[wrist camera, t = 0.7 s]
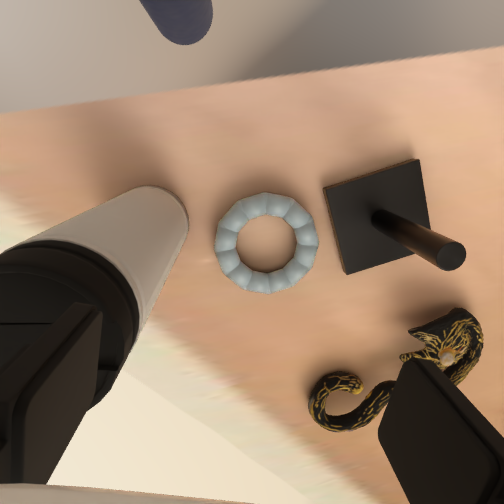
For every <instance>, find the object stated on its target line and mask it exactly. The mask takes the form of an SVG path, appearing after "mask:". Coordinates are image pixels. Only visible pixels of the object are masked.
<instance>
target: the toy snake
mask: <svg viewBox="0 0 504 504" xmlns="http://www.w3.org/2000/svg"><path fill="white" fill-rule="evenodd" d="M408 333H409V334H410V335H412V336H414V337H415V338H417V339H419V340H420V341H422V342H423V343H424V344H425V346H426V347H425V348H424V349H422V350H419V351H415V352H410V353H405V354H401V355H400V356H399V357H400V359H401V361H403V363H404V362H405V361H408V360H409V359H410V358H412V357H416V358H422V359H429V360H432V361H433V362H434V363H435V364H436V365H437V366H438V367H439V368H440V369H441V370H442V369H445V370H444V371H443V373H444V374H445V375H446V376H447V377H448V378H449V379H450V380H451V381H452V382H453V383H454V385H455V386H457V385H458V384H459V383H461V382H462V381H463V380H464V379H465V378H466V376H467V375H468V373H469V371H471V370H472V369H473V367H474V366H475V365H476V363H477V362H478V361H479V357H480V356H481V351H482V348H483V333H482V329H481V327H480V323H479V322H478V321H477V319H476V318H475V317H474V316H473V315H472V314H471V313H469V312H468V311H467V310H465V309H463V308H454V309H452V310H451V311H450V312H449V313H448V314H447V315H445V316H443V317H441V318H438V319H436V320H434V321H432V322H430V323H428V324H426V325H423V326H421V327H417V328H413V329H410V330H408ZM447 366H448V367H447ZM446 367H447V368H446ZM395 383H396V381H393V380H389V381H384V382H381V383H379V384H378V385H377V386H375V387H374V389H373V390H372V391H371V392H370V393H369V394H368V395H367V396H366V398H365V400H364V401H363V402H362V403H361V404H360V405H359V406H358V407H357V408H356V409H354V410H353V411H351V412H349V413H347V414H344V415H339V416H332V415H328V414H326V412H325V401H326V398H327V396H328V395H329V393H331V392H334V391H337V390H342V391H346V392H349V393H352V394H359V393H360V392H361V391H362V390H363V387H364V385H363V383H362V381H361V380H360V379H359V378H358V377H357V376H355V375H352V374H349V373H346V372H336V373H333V374H330V375H327V376H324V377H323V378H322V379H321V380H320V381H319V382H318V383H317V385H316V386H315V388H314V389H313V391H312V393H311V395H310V398H309V403H308V409H309V413H310V414H311V416H312V418H313V419H314V421H315V422H316V423H318V424H319V425H320V426H321V427H323V428H325V429H327V430H329V431H333V432H345V431H353V430H356V429H358V428H360V427H363V426H365V425H367V424H368V423H370V422H371V421H372V420H373V419H374V418H375V417H376V416H377V415H378V414H379V412H380V411H381V410H382V409H383V408H384V406H385V405H386V404H387V403H388V402H389V399H390V396H391V394H392V391H393V389H394V386H395Z"/></svg>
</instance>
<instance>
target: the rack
mask: <svg viewBox="0 0 504 504" xmlns="http://www.w3.org/2000/svg"><path fill="white" fill-rule="evenodd" d="M323 192H324V196H325V200H326V204H327V208H328V212H329V216H330V220H331V224H332V228H333V231H334V235H335V239H336V243H337V247H338V251H339V255H340V259H341V263H342V267H343V271H344V272H345V273H346V275H349V274H352V273H355V272H359V271H362V270H365V269H368V268H371V267H374V266H378V265H381V264H384V263H387V262H390V261H393V260H397V259H400V258H403V257H406V256H409V255H412V254H417V255H419V256H421V257H422V258H424V259H425V260H427V261H429V262H430V263H432V264H434V265H435V266H437V267H439V268H440V269H442V270H445V271H452V270H455V269H457V268H458V267H460V266H461V265H462V264H463V262H464V261H465V258H466V250H465V248H464V246H463V245H462V244H461V243H459V242H456V241H454V240H452V239H450V238H447V237H445V236H443V235H441V234H438V233H436V232H434V231H432V230H431V228H430V222H429V216H428V210H427V203H426V197H425V191H424V185H423V179H422V172H421V166H420V160H419V159H411V160H408V161H405V162H402V163H399V164H396V165H392V166H389V167H386V168H383V169H380V170H377V171H374V172H371V173H368V174H365V175H362V176H359V177H356V178H353V179H350V180H347V181H344V182H341V183H338V184H334V185H331V186H328V187H325V188H323Z"/></svg>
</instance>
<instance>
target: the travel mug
mask: <svg viewBox="0 0 504 504" xmlns="http://www.w3.org/2000/svg"><path fill="white" fill-rule="evenodd" d="M188 229H189V219H188V214H187V211H186V209H185V207H184V205H183V203H182V202H181V201H180V200H179V198H178V197H176V196H175V195H174V194H173V193H172V192H170V191H168V190H166V189H164V188H161V187H158V186H151V185H147V186H140V187H136V188H134V189H132V190H130V191H128V192H125V193H123V194H121V195H119V196H117V197H115V198H113V199H111V200H109V201H107V202H105V203H102V204H100V205H98V206H96V207H94V208H92V209H90V210H88V211H86V212H84V213H81V214H79V215H77V216H75V217H73V218H71V219H69V220H67V221H65V222H63V223H61V224H58V225H56V226H54V227H52V228H50V229H48V230H46V231H44V232H42V233H40V234H37V235H35V236H33V237H31V238H29V239H27V240H25V241H23V242H21V243H19V244H17V245H15V246H13V247H11V248H9V249H7V250H5V251H4V252H3V253H1V254H0V368H1V367H2V366H3V365H4V364H5V363H6V362H7V361H8V360H9V359H10V358H11V357H12V356H13V355H14V354H15V353H16V352H17V351H19V350H20V349H21V348H22V347H23V346H24V345H26V344H28V343H34V342H35V341H36V340H37V339H38V338H39V337H40V336H41V335H42V334H43V333H44V332H45V331H46V330H47V329H48V328H49V327H50V326H51V325H52V324H53V323H54V322H55V321H56V320H57V319H58V318H59V317H60V316H61V315H62V314H63V313H64V312H65V311H66V310H67V309H68V308H69V307H70V306H71V305H72V304H73V303H75V302H77V303H83V304H89V305H95V306H96V307H97V311H101V312H102V314H103V318H102V328H101V338H100V348H99V359H98V369H97V379H96V389H95V394H94V397H93V400H92V402H91V404H90V406H89V408H88V410H89V409H91V408H92V407H93V406H95V405H96V404H97V403H99V402H100V401H101V400H102V399H103V398H104V397H105V395H106V394H107V393H108V392H109V391H110V390H111V388H112V386H113V384H114V382H115V380H116V378H117V376H118V374H119V372H120V370H121V369H122V367H123V365H124V363H125V361H126V359H127V357H128V355H129V353H130V352H131V350H132V349H133V347H134V345H135V343H136V342H137V340H138V338H139V335H140V333H141V331H142V329H143V327H144V325H145V323H146V321H147V319H148V317H149V314H150V312H151V310H152V308H153V306H154V304H155V302H156V300H157V298H158V296H159V294H160V291H161V289H162V287H163V285H164V283H165V281H166V279H167V277H168V275H169V273H170V271H171V268H172V266H173V264H174V262H175V260H176V258H177V256H178V254H179V252H180V250H181V247H182V245H183V243H184V241H185V239H186V237H187V234H188ZM88 410H87V411H88Z"/></svg>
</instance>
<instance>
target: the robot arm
mask: <svg viewBox="0 0 504 504" xmlns="http://www.w3.org/2000/svg"><path fill="white" fill-rule="evenodd" d="M102 318H103V314H102V312H101V311H97V307H96V306H95V305H89V304H83V303H77V302H75V303H73V304H72V305H71V306H70V307H69V308H68V309H67V310H66V311H65V312H64V313H63V314H62V315H61V316H60V317H59V318H58V319H57V320H56V321H55V322H54V323H53V324H52V325H51V326H50V327H49V328H48V329H47V330H46V331H45V332H44V333H43V334H42V335H41V336H40V337H39V338H38V339H37V340H36V341H35V342H34V343H28V344H26V345H24V346H23V347H22V348H21V349H20V350H19V351H17V352H16V353H15V354H14V355H13V356H12V357H11V358H10V359H9V360H8V361H7V362H6V363H5V364H4V365H3V366H2V367H1V368H0V504H253V503H243V502H233V501H223V500H213V499H203V498H193V497H183V496H174V495H164V494H154V493H144V492H134V491H123V490H112V489H100V488H91V487H76V486H59V485H46V483H47V482H48V480H49V478H50V477H51V475H52V473H53V471H54V469H55V467H56V466H57V464H58V462H59V460H60V458H61V457H62V455H63V453H64V451H65V450H66V447H67V446H68V444H69V442H70V440H71V439H72V437H73V435H74V433H75V431H76V430H77V428H78V426H79V424H80V422H81V421H82V419H83V417H84V415H85V413H86V412H87V410H88V408H89V406H90V404H91V402H92V400H93V397H94V394H95V389H96V379H97V369H98V359H99V348H100V338H101V328H102ZM378 439H379V442H380V444H381V446H382V448H383V450H384V452H385V454H386V456H387V458H388V460H389V462H390V464H391V466H392V468H393V470H394V472H395V474H396V476H397V478H398V480H399V482H400V484H401V486H402V488H403V490H404V492H405V494H406V496H407V499H408V501H409V503H410V504H504V438H503V437H502V435H501V434H500V433H499V432H498V431H497V430H496V429H495V428H494V427H493V426H492V425H491V424H490V422H489V421H488V420H487V419H486V418H485V417H484V416H483V415H482V414H481V413H480V412H479V411H478V409H477V408H476V407H475V406H474V405H473V404H472V403H471V402H470V401H469V400H468V399H467V398H466V396H465V395H464V394H463V393H462V392H461V391H460V390H459V389H458V388H457V387H456V386H455V385H454V383H453V382H452V381H451V380H450V379H449V378H448V377H447V376H446V375H445V374H444V373H443V372H442V370H441V369H440V368H439V367H438V366H437V365H436V364H435V363H434V362H433V361H432V360H429V359H422V358H416V357H412V358H410V359H409V360H408V361H405V362H404V363H403V365H402V368H401V370H400V373H399V376H398V378H397V381H396V383H395V386H394V389H393V391H392V394H391V396H390V399H389V402H388V404H387V407H386V409H385V412H384V415H383V417H382V420H381V423H380V425H379V428H378Z"/></svg>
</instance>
